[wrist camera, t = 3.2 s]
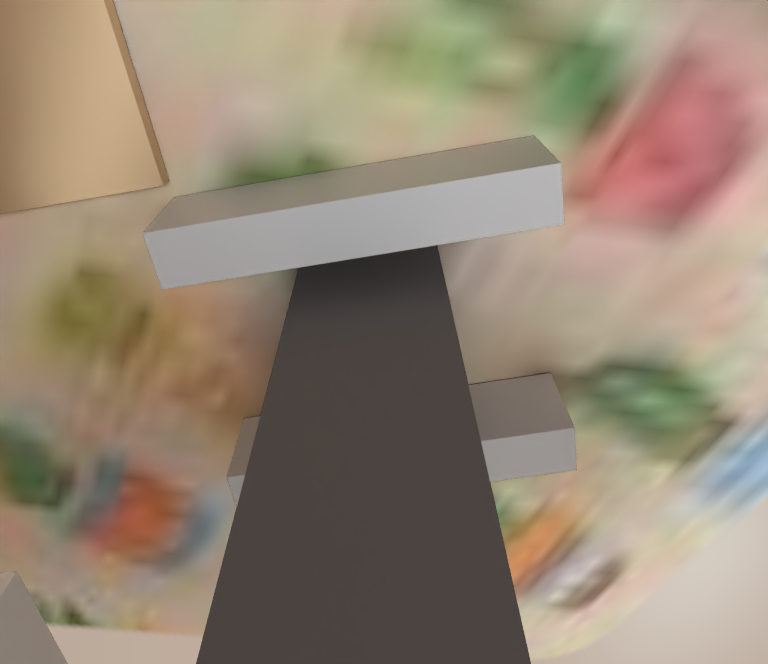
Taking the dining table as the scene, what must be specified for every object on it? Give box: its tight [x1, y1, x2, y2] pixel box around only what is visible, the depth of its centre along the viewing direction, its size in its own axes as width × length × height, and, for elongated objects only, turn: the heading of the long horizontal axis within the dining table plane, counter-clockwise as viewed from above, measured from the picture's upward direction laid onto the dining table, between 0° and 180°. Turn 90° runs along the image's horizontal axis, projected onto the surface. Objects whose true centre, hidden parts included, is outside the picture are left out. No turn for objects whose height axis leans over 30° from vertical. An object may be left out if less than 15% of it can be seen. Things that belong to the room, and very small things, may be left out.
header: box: [143, 136, 577, 506], centre depth 20 cm, size 10×9×3 cm
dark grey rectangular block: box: [196, 245, 531, 664], centre depth 15 cm, size 4×4×14 cm
